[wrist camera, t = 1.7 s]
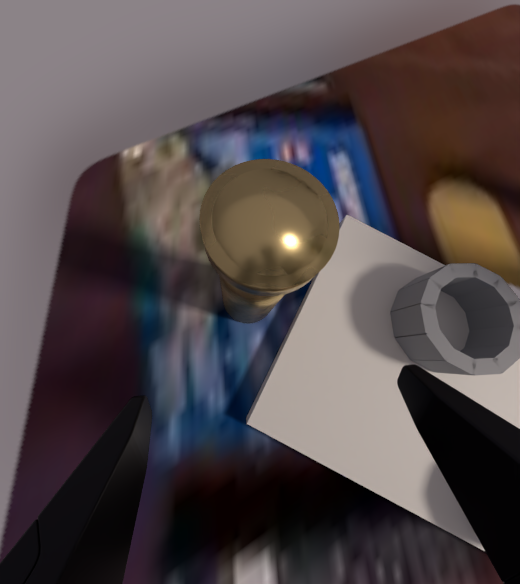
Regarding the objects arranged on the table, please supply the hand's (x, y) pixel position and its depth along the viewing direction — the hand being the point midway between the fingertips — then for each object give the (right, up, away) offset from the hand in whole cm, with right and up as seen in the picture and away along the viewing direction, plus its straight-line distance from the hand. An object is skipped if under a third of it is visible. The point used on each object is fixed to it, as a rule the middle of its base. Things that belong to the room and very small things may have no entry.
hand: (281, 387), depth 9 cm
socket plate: (+12, -3, +12) cm, 18 cm away
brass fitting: (-2, +3, +12) cm, 13 cm away
